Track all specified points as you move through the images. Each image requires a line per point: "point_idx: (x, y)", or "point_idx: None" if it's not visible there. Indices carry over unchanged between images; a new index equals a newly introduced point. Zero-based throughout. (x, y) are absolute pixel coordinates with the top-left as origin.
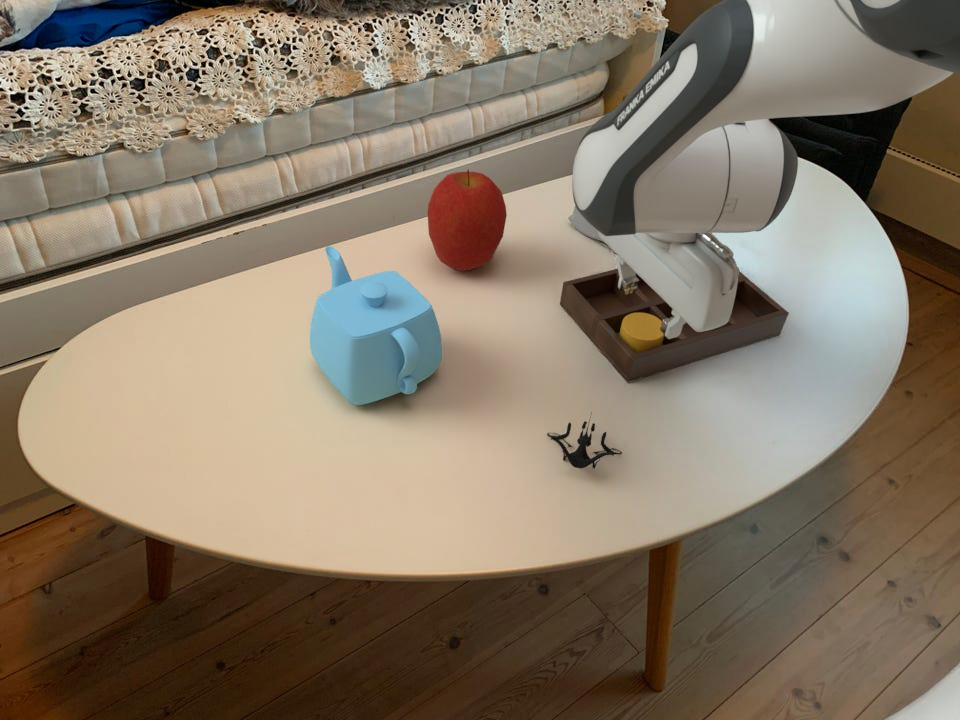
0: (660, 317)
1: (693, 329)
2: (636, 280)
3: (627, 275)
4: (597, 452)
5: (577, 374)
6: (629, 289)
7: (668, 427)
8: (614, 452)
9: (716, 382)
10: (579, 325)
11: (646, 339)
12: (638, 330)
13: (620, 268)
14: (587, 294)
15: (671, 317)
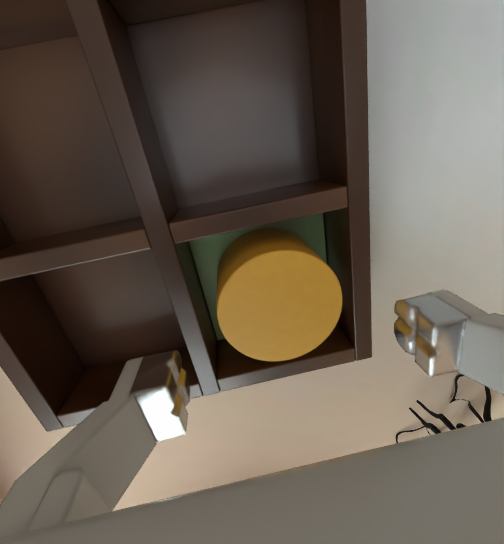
0: (233, 231)
1: (216, 77)
2: (168, 398)
3: (141, 436)
4: (454, 399)
5: (295, 387)
6: (183, 388)
7: (463, 285)
8: (490, 398)
9: (411, 120)
10: None
11: (336, 323)
12: (296, 331)
13: (121, 496)
14: (56, 337)
15: (434, 343)
